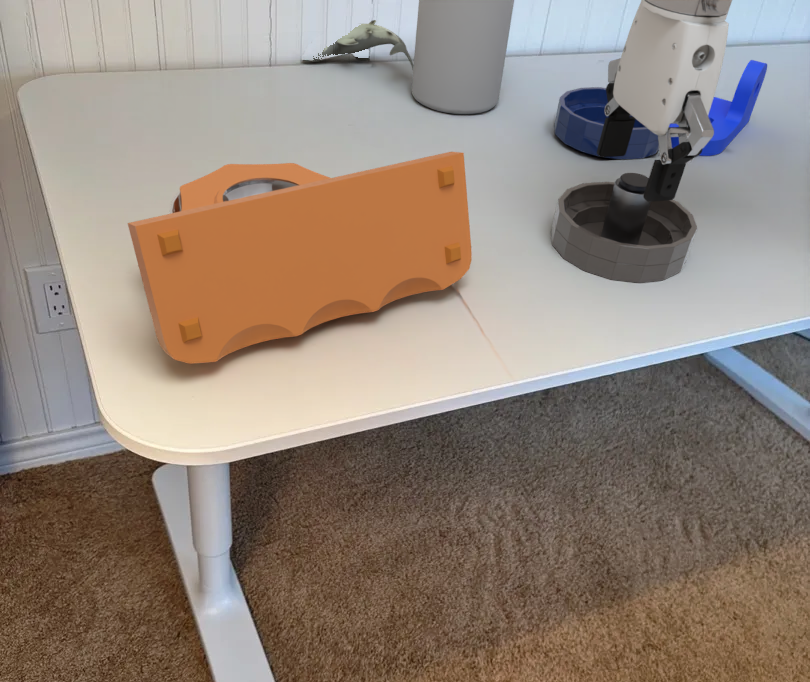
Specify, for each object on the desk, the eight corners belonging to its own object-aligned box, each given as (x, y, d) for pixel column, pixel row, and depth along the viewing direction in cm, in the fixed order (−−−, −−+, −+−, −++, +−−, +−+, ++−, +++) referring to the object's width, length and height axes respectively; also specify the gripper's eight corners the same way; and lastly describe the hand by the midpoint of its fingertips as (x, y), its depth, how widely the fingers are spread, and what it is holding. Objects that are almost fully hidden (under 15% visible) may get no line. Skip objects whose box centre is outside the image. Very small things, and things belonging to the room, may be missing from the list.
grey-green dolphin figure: (296, 75, 118) (312, 117, 125) (409, 49, 116) (420, 93, 122) (297, 15, 126) (312, 57, 132) (404, -11, 123) (414, 34, 130)
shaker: (624, 235, 90) (643, 169, 85) (643, 254, 87) (663, 187, 82) (592, 238, 89) (609, 171, 84) (609, 257, 86) (628, 190, 81)
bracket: (693, 106, 124) (713, 43, 118) (748, 121, 121) (771, 58, 115) (653, 143, 112) (673, 75, 106) (713, 161, 109) (737, 92, 103)
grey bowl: (641, 214, 96) (651, 178, 93) (709, 280, 86) (723, 241, 83) (529, 223, 92) (536, 186, 89) (587, 293, 82) (597, 253, 79)
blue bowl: (626, 117, 118) (635, 85, 115) (679, 160, 108) (689, 127, 105) (536, 121, 114) (542, 88, 111) (582, 166, 104) (590, 131, 101)
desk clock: (466, 146, 73) (351, 137, 89) (135, 219, 59) (68, 193, 75) (477, 280, 78) (366, 250, 94) (175, 376, 64) (104, 322, 80)
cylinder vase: (393, 92, 118) (407, -112, 102) (457, 77, 125) (480, -117, 108) (451, 123, 111) (477, -90, 95) (516, 106, 118) (550, -96, 101)
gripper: (785, 25, 67) (712, 216, 78) (673, -34, 79) (624, 139, 90) (706, 24, 65) (643, 221, 76) (604, -36, 77) (562, 141, 88)
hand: (633, 176), depth 83 cm, fingers open, 9 cm apart
